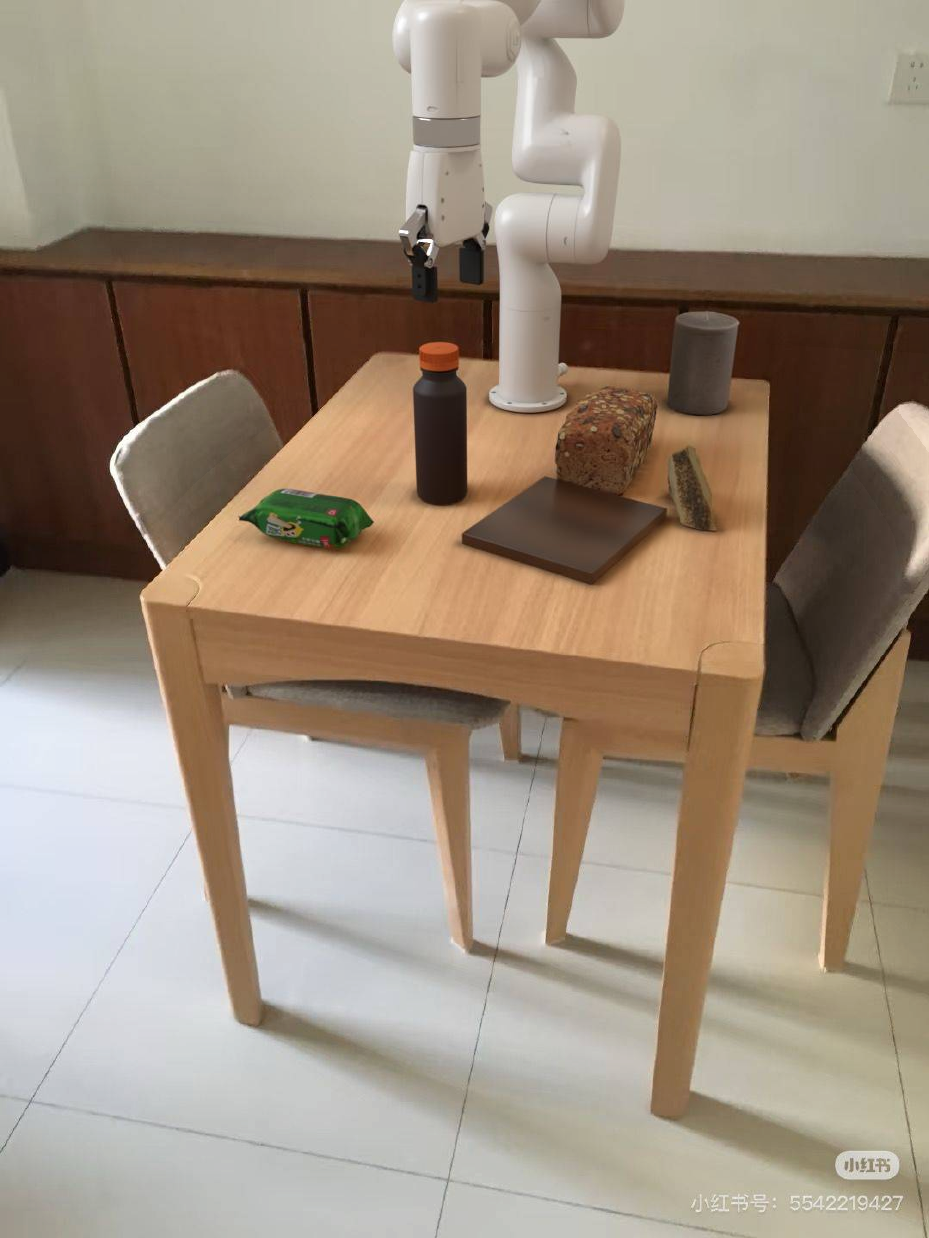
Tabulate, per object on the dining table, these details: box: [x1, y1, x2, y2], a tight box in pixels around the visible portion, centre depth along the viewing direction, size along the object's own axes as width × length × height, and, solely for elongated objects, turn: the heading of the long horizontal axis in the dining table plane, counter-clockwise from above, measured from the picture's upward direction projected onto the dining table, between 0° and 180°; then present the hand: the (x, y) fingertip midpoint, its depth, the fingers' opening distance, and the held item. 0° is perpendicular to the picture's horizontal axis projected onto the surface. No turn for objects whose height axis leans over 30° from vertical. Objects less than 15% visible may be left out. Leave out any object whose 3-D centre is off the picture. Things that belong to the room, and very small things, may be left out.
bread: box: [554, 386, 658, 496], centre depth 142 cm, size 19×11×10 cm, turn 159°
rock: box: [667, 444, 718, 532], centre depth 131 cm, size 11×9×10 cm
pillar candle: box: [666, 310, 740, 416], centre depth 161 cm, size 10×10×15 cm
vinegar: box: [412, 341, 468, 506], centre depth 132 cm, size 7×7×20 cm
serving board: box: [461, 475, 668, 585], centre depth 128 cm, size 20×18×2 cm
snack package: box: [237, 488, 375, 550], centre depth 126 cm, size 7×16×5 cm, turn 70°
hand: (449, 292), depth 122 cm, fingers open, 9 cm apart
